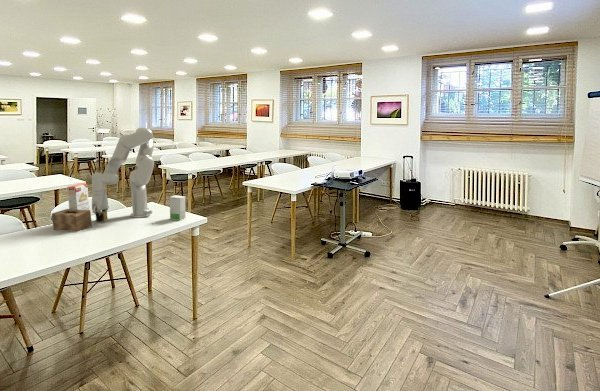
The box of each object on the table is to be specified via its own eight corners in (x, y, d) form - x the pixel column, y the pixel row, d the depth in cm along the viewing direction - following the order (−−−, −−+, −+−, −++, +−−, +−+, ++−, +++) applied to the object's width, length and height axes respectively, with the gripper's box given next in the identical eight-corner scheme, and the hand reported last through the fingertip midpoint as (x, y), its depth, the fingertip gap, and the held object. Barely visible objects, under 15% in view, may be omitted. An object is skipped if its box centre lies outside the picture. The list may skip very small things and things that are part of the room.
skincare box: (169, 219, 250) (168, 196, 246) (175, 217, 256) (174, 194, 253) (180, 220, 247) (179, 197, 244) (186, 218, 253) (185, 195, 250)
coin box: (91, 226, 231) (90, 210, 229) (77, 231, 220) (75, 215, 218) (68, 224, 234) (67, 208, 232) (53, 229, 222) (51, 213, 220)
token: (107, 220, 244) (106, 211, 243) (104, 221, 241) (103, 212, 240) (99, 219, 245) (98, 211, 244) (96, 221, 242) (95, 212, 241)
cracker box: (78, 217, 250) (75, 186, 245) (69, 217, 250) (66, 186, 245) (90, 212, 263) (87, 183, 259) (82, 212, 263) (79, 182, 259)
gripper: (103, 189, 248) (105, 216, 252) (84, 194, 232) (87, 223, 235) (113, 190, 247) (115, 217, 251) (95, 195, 231) (98, 224, 234)
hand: (101, 219), depth 243 cm, fingers open, 4 cm apart
